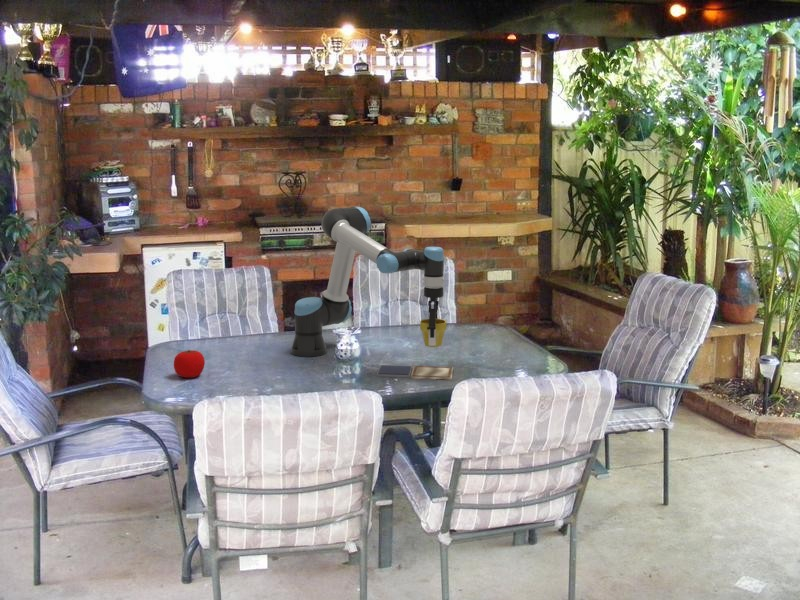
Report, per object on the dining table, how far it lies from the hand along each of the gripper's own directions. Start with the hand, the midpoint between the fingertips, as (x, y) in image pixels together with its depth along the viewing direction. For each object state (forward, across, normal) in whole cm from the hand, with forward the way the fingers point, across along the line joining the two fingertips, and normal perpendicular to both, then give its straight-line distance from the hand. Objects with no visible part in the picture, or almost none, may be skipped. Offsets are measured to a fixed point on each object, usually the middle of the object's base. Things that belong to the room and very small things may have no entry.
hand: (432, 342), depth 359 cm
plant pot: (+1, 0, 0) cm, 1 cm away
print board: (+13, 0, 0) cm, 13 cm away
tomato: (+13, -15, +94) cm, 96 cm away
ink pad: (+13, 0, +15) cm, 20 cm away
